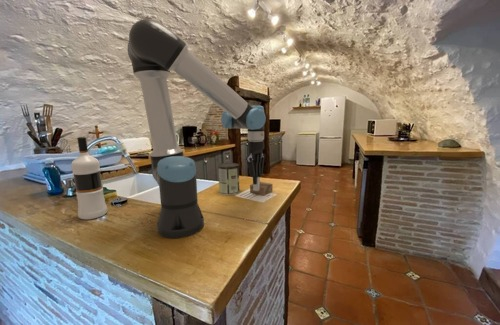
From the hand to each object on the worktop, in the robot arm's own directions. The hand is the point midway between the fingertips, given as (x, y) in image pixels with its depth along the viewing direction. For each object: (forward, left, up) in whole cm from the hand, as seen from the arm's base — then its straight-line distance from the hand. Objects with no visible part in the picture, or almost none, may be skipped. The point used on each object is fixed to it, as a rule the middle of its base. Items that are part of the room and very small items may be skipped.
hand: (256, 190), depth 104 cm
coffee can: (-3, +14, -3) cm, 15 cm away
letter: (0, 0, -3) cm, 3 cm away
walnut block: (+5, 0, -2) cm, 5 cm away
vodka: (-53, +40, -3) cm, 67 cm away
